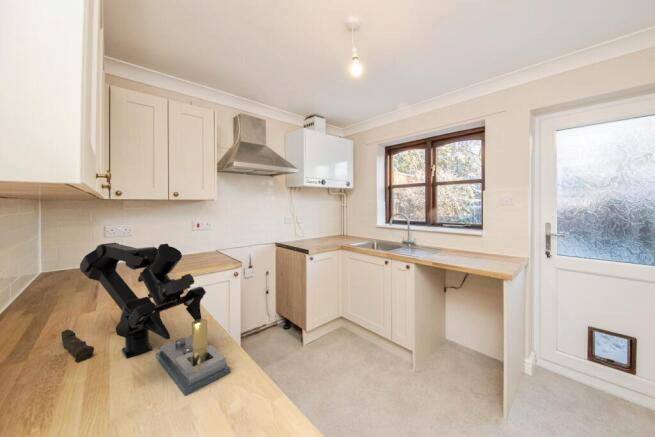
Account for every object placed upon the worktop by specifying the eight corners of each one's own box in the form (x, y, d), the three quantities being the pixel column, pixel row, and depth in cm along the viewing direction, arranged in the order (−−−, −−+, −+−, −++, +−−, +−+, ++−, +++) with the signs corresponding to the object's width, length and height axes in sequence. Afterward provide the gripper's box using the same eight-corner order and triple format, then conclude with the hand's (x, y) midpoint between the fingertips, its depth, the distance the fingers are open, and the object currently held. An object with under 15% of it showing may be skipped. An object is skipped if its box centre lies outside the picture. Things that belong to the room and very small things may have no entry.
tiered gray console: (156, 358, 73) (155, 343, 73) (196, 343, 81) (195, 329, 81) (184, 395, 58) (184, 377, 58) (229, 372, 67) (229, 356, 67)
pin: (189, 371, 65) (188, 323, 64) (200, 363, 68) (199, 318, 68) (200, 374, 64) (199, 326, 63) (210, 366, 67) (210, 320, 67)
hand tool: (94, 358, 73) (94, 342, 73) (75, 364, 70) (75, 348, 70) (76, 339, 84) (76, 325, 84) (59, 344, 81) (58, 330, 80)
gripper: (134, 274, 61) (164, 329, 57) (201, 260, 78) (228, 301, 74) (116, 301, 64) (143, 354, 60) (184, 282, 81) (209, 322, 77)
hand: (185, 330), depth 68 cm, fingers open, 9 cm apart
